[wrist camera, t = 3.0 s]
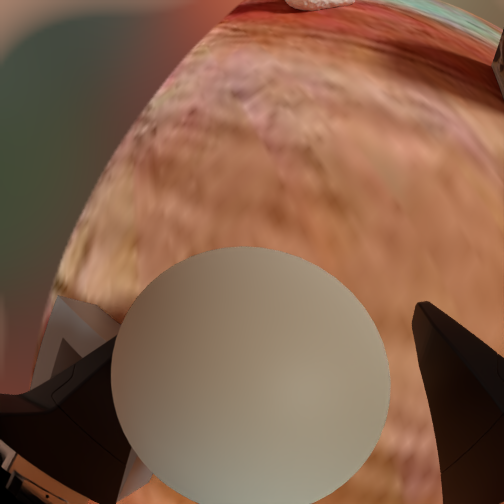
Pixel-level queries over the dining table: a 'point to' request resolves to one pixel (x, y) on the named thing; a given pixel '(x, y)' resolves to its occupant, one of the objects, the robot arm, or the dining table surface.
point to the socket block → (75, 348)
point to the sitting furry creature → (317, 4)
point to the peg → (250, 379)
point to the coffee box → (499, 64)
